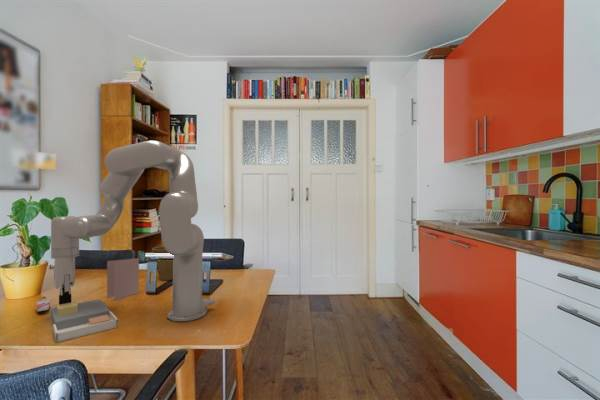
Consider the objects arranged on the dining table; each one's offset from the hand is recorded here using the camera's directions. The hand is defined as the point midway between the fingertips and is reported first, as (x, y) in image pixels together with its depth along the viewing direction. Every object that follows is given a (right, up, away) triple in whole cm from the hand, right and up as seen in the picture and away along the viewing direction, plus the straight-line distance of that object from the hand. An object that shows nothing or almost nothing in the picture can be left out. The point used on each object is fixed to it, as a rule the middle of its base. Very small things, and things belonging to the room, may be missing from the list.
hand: (65, 306), depth 101 cm
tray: (+15, -4, -10) cm, 18 cm away
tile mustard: (+4, -1, -4) cm, 6 cm away
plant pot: (+13, -4, +50) cm, 52 cm away
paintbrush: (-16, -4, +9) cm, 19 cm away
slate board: (+6, -4, -1) cm, 7 cm away
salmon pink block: (+18, -1, -9) cm, 20 cm away
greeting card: (+8, -4, +21) cm, 23 cm away
